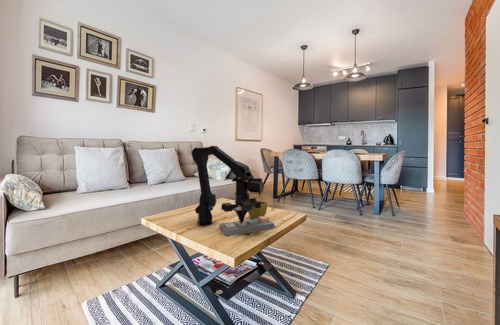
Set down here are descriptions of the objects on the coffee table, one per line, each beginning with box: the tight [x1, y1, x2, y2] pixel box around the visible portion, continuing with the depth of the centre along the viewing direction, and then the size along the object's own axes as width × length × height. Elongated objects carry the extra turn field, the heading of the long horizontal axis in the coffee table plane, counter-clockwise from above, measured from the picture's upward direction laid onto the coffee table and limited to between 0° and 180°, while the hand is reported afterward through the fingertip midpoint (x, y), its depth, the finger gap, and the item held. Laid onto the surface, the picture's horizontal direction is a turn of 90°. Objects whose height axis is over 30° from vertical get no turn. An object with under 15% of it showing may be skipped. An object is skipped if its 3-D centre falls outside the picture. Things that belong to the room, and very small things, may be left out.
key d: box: [258, 215, 270, 223], centre depth 115 cm, size 4×4×3 cm
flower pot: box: [247, 200, 268, 220], centre depth 127 cm, size 9×9×9 cm
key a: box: [224, 222, 235, 228], centre depth 107 cm, size 4×4×3 cm
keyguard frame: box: [218, 219, 275, 237], centre depth 111 cm, size 25×10×2 cm, turn 116°
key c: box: [247, 219, 258, 225], centre depth 112 cm, size 4×4×3 cm
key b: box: [235, 221, 247, 227], centre depth 110 cm, size 4×4×3 cm
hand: (241, 223), depth 110 cm, fingers closed
